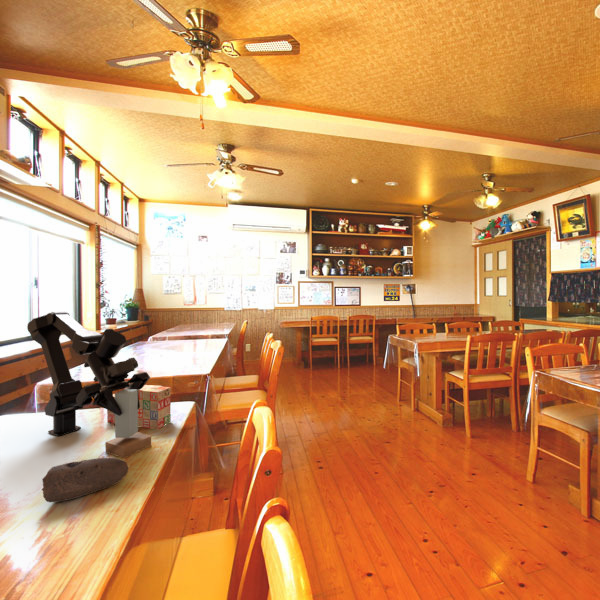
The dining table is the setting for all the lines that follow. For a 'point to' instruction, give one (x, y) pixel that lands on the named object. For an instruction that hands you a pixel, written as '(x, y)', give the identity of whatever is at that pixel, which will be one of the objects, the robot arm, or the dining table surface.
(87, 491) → the perforated stone tool
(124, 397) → the column
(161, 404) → the stack of blocks
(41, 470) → the dining table surface
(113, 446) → the base block
